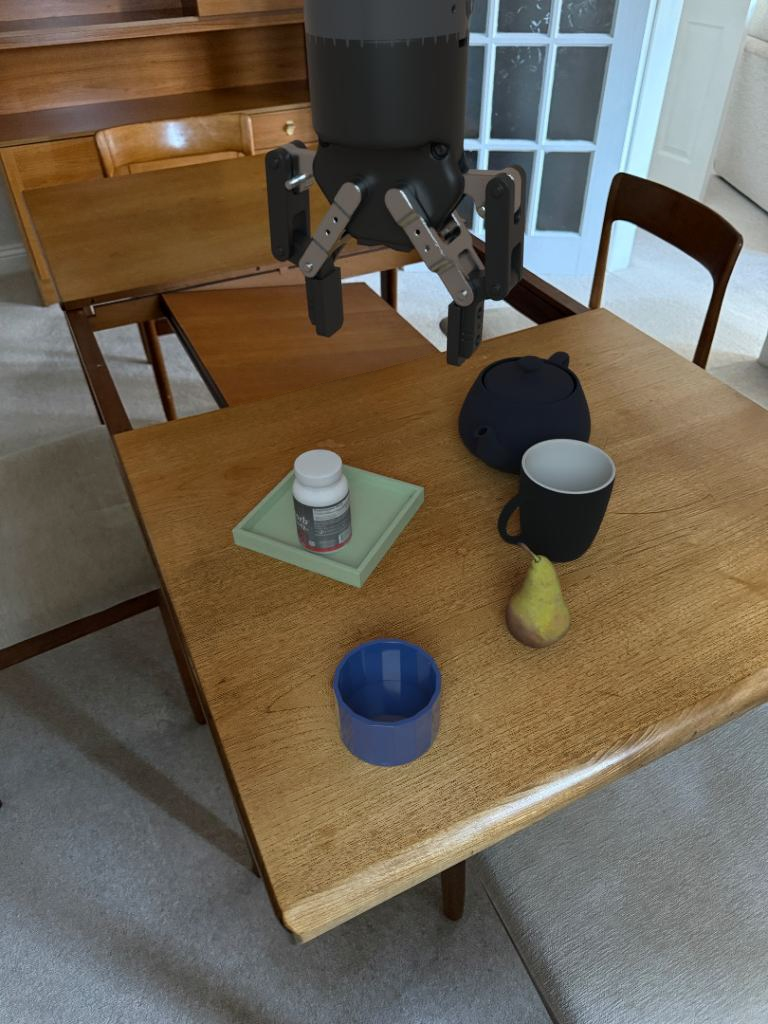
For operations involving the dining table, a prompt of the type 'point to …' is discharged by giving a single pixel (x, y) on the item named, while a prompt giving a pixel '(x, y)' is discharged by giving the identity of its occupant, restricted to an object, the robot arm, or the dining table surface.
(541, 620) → the fruit
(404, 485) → the tray
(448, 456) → the dining table surface
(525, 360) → the teapot
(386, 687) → the pen cup
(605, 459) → the mug
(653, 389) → the dining table surface
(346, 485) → the pill bottle
